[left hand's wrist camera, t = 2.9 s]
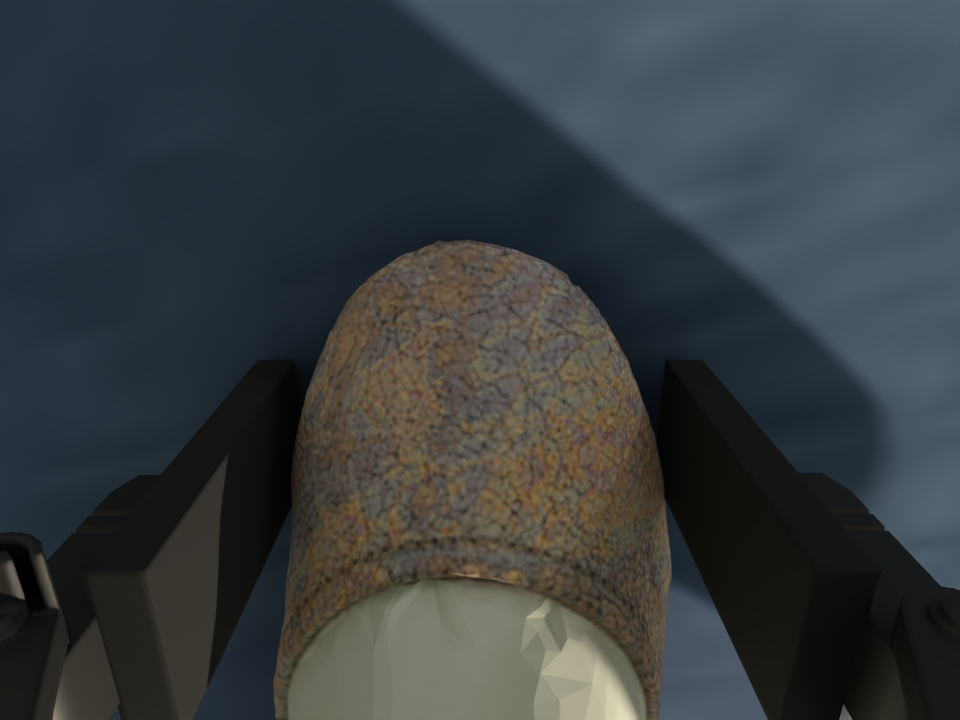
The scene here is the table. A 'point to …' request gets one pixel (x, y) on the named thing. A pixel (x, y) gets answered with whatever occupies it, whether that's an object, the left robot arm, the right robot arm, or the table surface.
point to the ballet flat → (474, 505)
